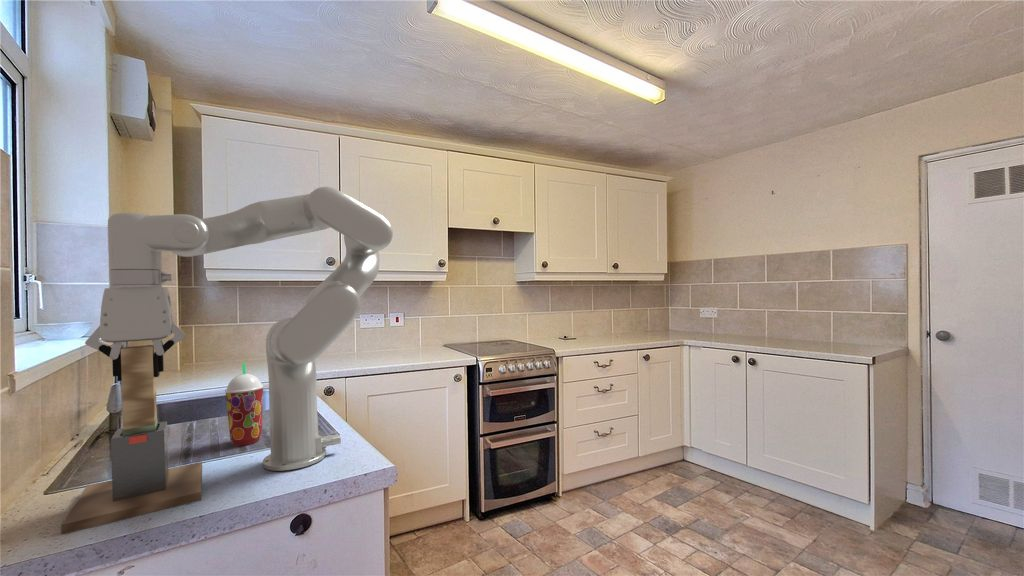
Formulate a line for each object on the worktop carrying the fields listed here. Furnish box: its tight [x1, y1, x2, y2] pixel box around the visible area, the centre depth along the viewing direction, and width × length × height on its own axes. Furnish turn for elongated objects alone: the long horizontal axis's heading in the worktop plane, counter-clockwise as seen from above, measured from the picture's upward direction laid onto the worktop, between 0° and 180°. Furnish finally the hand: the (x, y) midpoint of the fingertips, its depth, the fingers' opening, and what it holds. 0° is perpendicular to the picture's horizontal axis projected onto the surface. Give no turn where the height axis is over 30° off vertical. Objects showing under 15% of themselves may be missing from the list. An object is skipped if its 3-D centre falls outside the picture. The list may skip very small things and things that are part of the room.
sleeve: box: [110, 420, 169, 502], centre depth 82 cm, size 7×8×11 cm
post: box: [121, 344, 159, 436], centre depth 82 cm, size 5×5×18 cm
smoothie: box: [224, 362, 264, 447], centre depth 111 cm, size 8×8×20 cm
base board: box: [60, 461, 203, 535], centre depth 82 cm, size 18×18×2 cm
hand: (139, 377), depth 82 cm, fingers closed on post, 4 cm apart
